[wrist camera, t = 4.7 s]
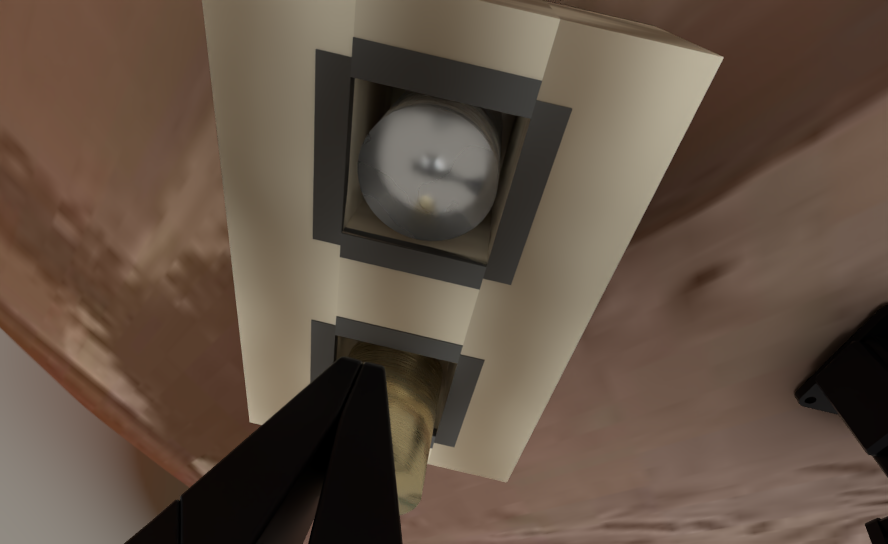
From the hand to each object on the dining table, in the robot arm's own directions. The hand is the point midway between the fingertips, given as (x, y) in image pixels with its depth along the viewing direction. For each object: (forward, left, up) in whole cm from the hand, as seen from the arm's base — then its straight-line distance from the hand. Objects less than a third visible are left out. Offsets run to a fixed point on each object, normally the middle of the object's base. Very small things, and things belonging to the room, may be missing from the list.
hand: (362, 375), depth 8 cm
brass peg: (0, +8, -8) cm, 11 cm away
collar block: (0, +3, -12) cm, 12 cm away
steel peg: (0, -1, -12) cm, 12 cm away
